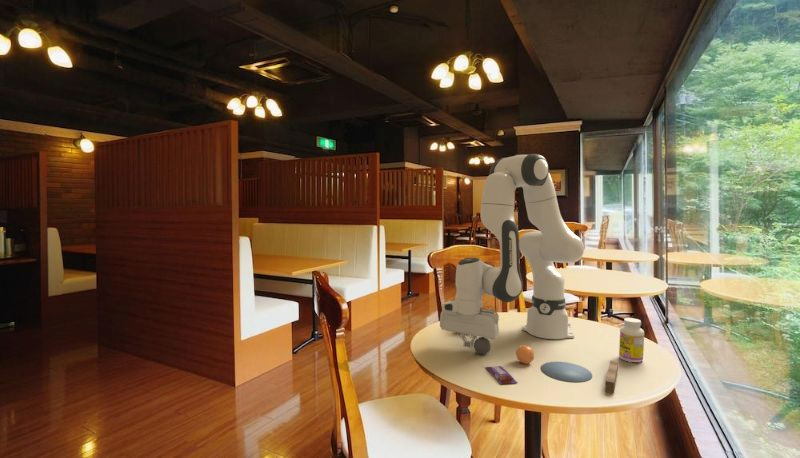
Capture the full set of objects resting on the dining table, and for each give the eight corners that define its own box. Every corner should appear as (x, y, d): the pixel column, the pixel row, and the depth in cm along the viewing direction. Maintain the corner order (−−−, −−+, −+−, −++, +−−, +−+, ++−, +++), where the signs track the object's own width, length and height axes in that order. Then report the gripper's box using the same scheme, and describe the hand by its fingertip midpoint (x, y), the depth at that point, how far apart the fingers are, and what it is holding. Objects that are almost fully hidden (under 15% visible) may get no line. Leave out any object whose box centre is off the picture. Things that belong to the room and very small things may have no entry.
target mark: (546, 358, 127) (546, 358, 127) (594, 368, 119) (594, 367, 119) (536, 374, 115) (536, 374, 115) (589, 386, 107) (589, 385, 107)
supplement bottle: (614, 355, 129) (615, 317, 129) (633, 355, 130) (635, 316, 129) (628, 363, 123) (629, 323, 122) (648, 363, 123) (649, 322, 122)
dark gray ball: (477, 349, 135) (477, 333, 134) (492, 352, 132) (493, 336, 131) (471, 354, 130) (471, 338, 130) (487, 358, 127) (487, 341, 127)
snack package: (484, 363, 120) (500, 363, 120) (484, 370, 120) (500, 369, 121) (500, 380, 108) (517, 379, 109) (500, 387, 108) (517, 386, 109)
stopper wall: (610, 370, 118) (610, 360, 118) (617, 371, 117) (618, 361, 117) (605, 391, 104) (605, 380, 104) (613, 393, 103) (614, 382, 103)
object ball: (518, 358, 127) (518, 341, 127) (536, 361, 124) (536, 344, 124) (513, 364, 122) (513, 346, 122) (531, 368, 120) (532, 350, 119)
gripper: (501, 308, 130) (501, 349, 131) (446, 300, 141) (445, 338, 142) (495, 313, 124) (494, 355, 125) (437, 304, 136) (437, 343, 137)
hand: (468, 346), depth 134 cm, fingers closed
